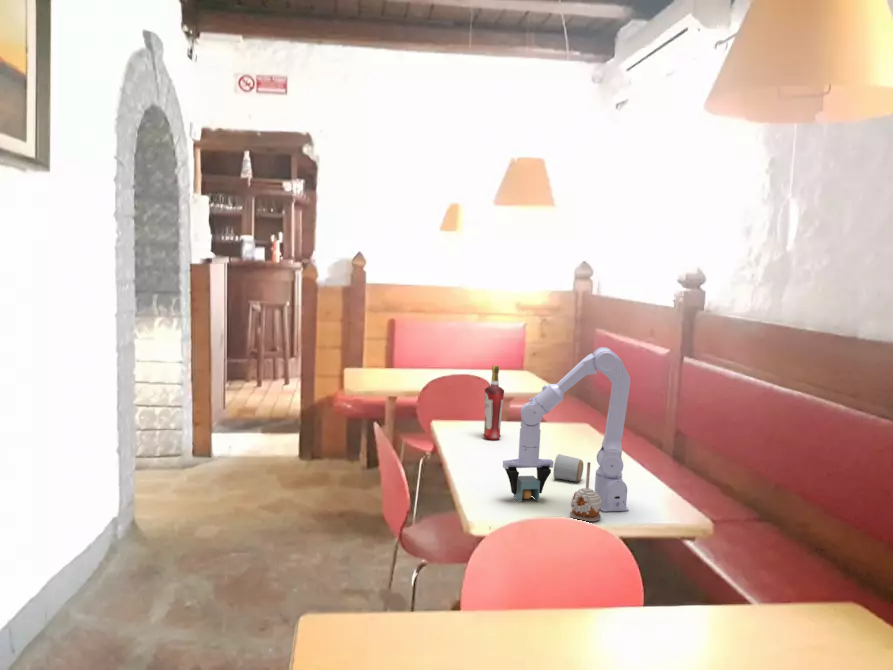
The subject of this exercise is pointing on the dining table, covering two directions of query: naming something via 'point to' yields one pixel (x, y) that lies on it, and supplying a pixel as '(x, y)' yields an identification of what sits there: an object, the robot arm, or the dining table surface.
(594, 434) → the dining table surface
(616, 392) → the robot arm
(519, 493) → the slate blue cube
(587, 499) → the caramel apple
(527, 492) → the orange ball
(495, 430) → the liquor
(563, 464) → the ceramic mug
